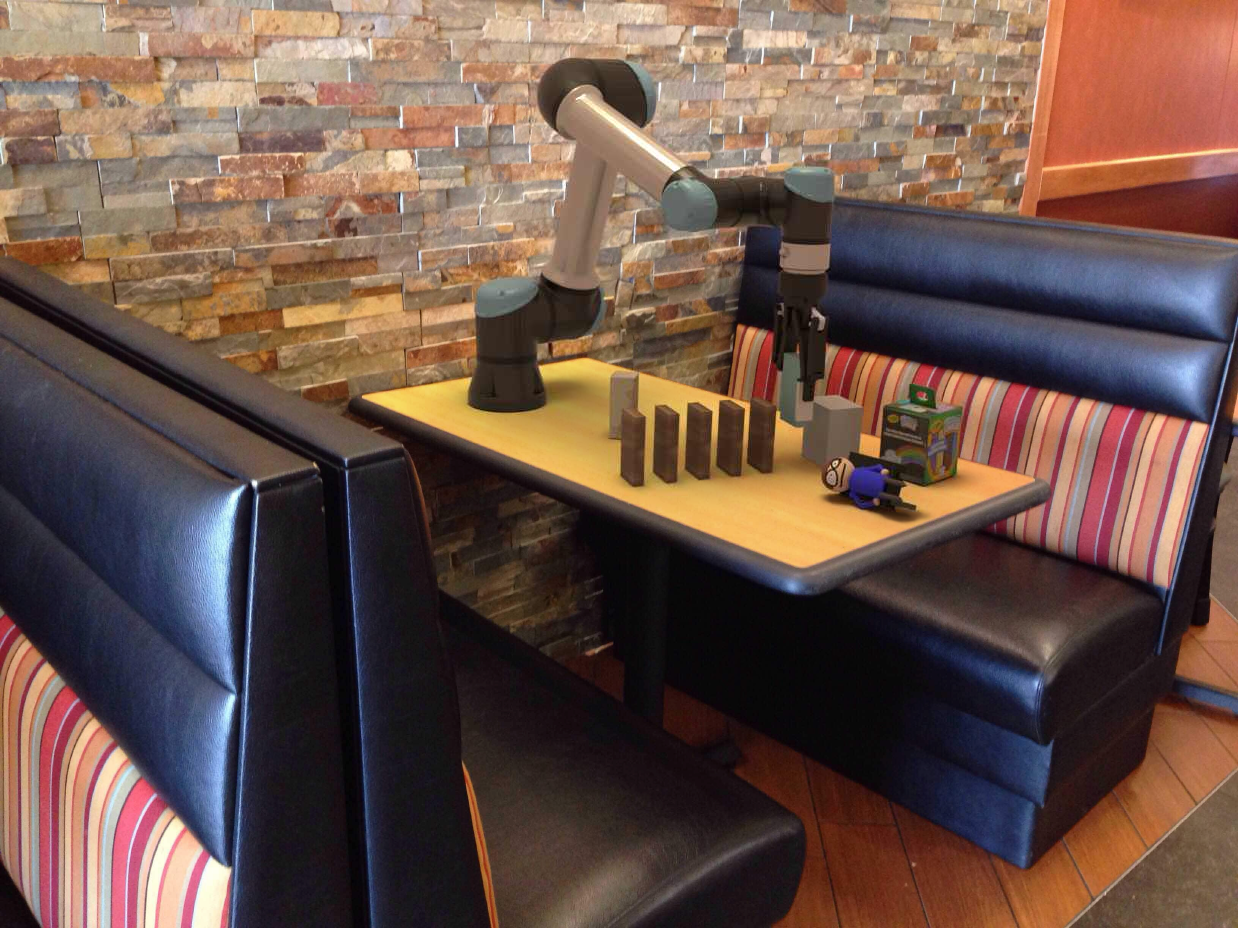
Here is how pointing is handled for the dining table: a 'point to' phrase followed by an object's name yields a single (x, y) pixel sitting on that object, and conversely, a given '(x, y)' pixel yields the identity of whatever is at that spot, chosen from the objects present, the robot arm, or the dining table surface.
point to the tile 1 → (633, 446)
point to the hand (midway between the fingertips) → (793, 414)
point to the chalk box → (922, 435)
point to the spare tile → (790, 389)
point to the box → (622, 398)
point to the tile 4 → (730, 437)
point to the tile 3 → (698, 440)
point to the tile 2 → (666, 443)
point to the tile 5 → (761, 435)
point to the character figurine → (868, 480)
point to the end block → (832, 429)
